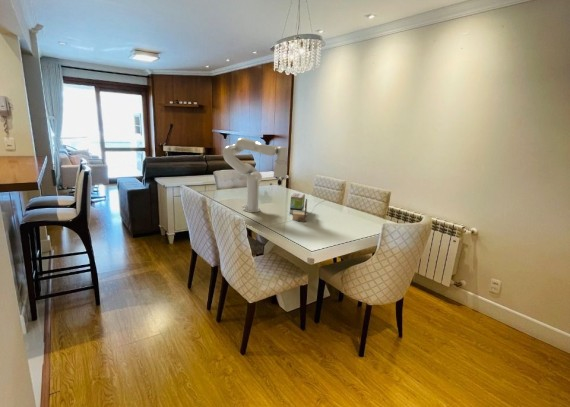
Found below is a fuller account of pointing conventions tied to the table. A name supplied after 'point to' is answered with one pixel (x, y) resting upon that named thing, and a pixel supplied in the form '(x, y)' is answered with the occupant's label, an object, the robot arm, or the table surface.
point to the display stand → (305, 214)
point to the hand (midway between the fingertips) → (279, 185)
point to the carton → (298, 214)
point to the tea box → (297, 202)
